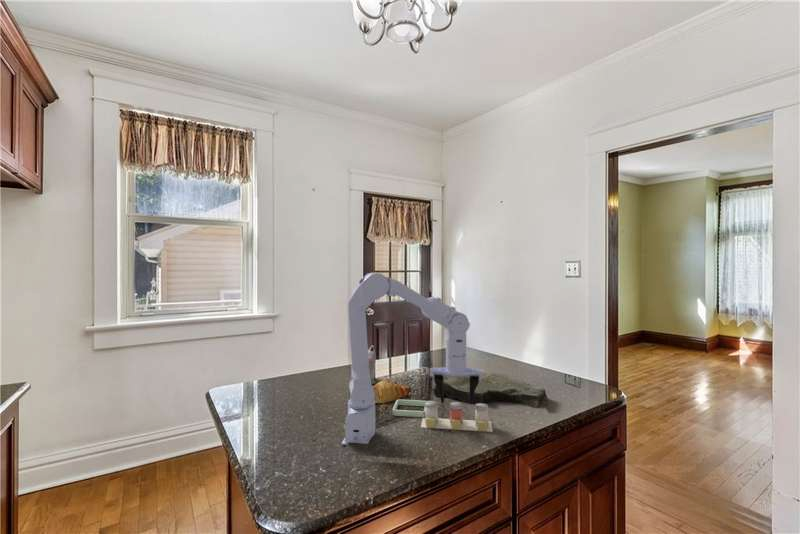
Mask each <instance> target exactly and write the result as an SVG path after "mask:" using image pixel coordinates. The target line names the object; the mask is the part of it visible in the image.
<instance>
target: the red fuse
mask: <svg viewBox="0 0 800 534" xmlns="http://www.w3.org/2000/svg"><path fill="white" fill-rule="evenodd" d="M463 407H464V405H463V402H459V401H452V402H450V403H449V419H450V425H451V426H452V419H454V420H461V426H462V425H463V420H464V419H463V418H464V417H463V416H464V415H463V414H464V413H463V409H464V408H463Z"/></svg>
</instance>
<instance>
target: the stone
mask: <svg viewBox="0 0 800 534" xmlns="http://www.w3.org/2000/svg"><path fill="white" fill-rule="evenodd" d="M443 390H444V397H446V398H447V399H450V400H452V399H453V400H458V401H462V403H465V404H469V390H470V384H469V377H450V376H449V377H447V378H445V379H443ZM433 394H434V395H435V396H438V397H440V393H439V390H438V388H437V386H436V384H435V386H434V389H433ZM499 402H500V403H503V402H504V403H512V404H518V405H523V406H526V407H532V408H533V409H536V408H540V407H541V406H542V407H543V408H547V405H548V394H547V393H546V389H545V388H543V387H540V386H536V385H535V384H530V383H527V382H524V381H521V380H518V379H517V380H516V379H515V378H513V377H509V376H508V375H506V374H501V373H494V372H486V373H484V372H483V378H479V383H478V385H477V387H476V389H475V392H474V395H473V398H472V404H471V405H475V404H478V403H483V404H487V405H488V404H491V403H499Z"/></svg>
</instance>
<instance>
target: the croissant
mask: <svg viewBox="0 0 800 534" xmlns="http://www.w3.org/2000/svg"><path fill="white" fill-rule="evenodd" d="M372 387H373V389H374V391H375V399H374V400H375V404H386V403H389V402H393V401H396V400H397V399H401V398H404V397H406V396H408V395H409V394H410V393H411V391H412V388H411V387H410V386H405V385H401V384H400V385H399V384H397V383H393V382H391V381H389V380H384V379H383V380H381V381H379V382H377V383H375V384H374V385H372Z"/></svg>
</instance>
